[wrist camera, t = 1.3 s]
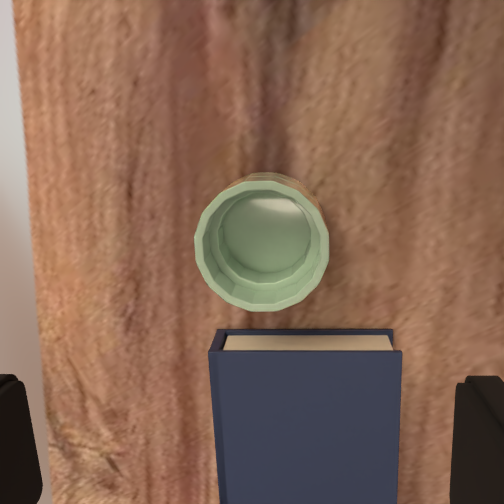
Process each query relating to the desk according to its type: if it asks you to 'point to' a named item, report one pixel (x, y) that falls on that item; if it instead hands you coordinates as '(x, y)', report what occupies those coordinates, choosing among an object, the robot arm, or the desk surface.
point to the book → (306, 415)
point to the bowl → (263, 242)
